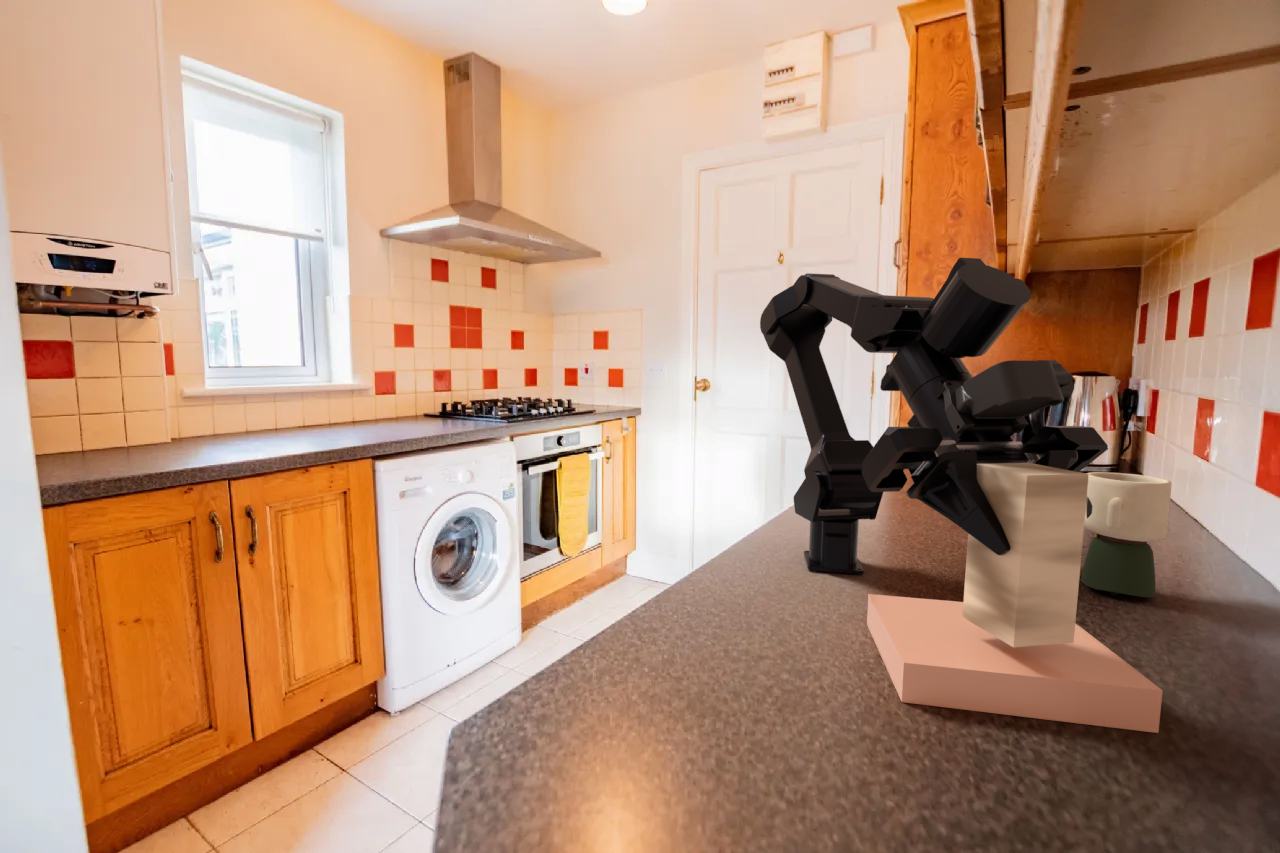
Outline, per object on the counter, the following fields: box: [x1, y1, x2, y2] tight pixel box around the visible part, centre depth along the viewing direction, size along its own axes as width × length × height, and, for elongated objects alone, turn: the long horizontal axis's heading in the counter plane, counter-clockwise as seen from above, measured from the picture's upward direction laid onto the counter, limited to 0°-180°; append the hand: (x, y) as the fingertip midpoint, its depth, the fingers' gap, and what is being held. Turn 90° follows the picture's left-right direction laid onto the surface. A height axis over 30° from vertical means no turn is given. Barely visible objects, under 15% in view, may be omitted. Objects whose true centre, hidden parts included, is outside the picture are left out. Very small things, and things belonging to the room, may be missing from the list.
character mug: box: [1080, 471, 1172, 598], centre depth 61 cm, size 11×7×13 cm, turn 129°
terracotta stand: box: [866, 593, 1164, 734], centre depth 45 cm, size 13×16×3 cm
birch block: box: [962, 463, 1089, 647], centre depth 42 cm, size 5×5×12 cm
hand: (1037, 551), depth 41 cm, fingers closed on birch block, 5 cm apart
